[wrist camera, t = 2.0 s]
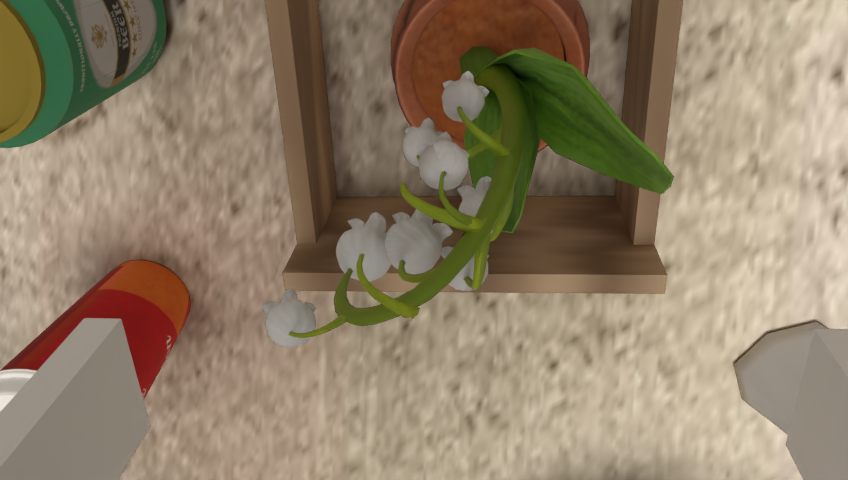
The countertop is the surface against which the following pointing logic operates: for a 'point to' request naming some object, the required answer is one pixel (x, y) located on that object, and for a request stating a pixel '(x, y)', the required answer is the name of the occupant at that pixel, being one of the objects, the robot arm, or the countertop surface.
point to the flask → (775, 372)
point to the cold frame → (510, 252)
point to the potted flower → (475, 146)
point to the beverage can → (70, 59)
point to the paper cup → (115, 299)
